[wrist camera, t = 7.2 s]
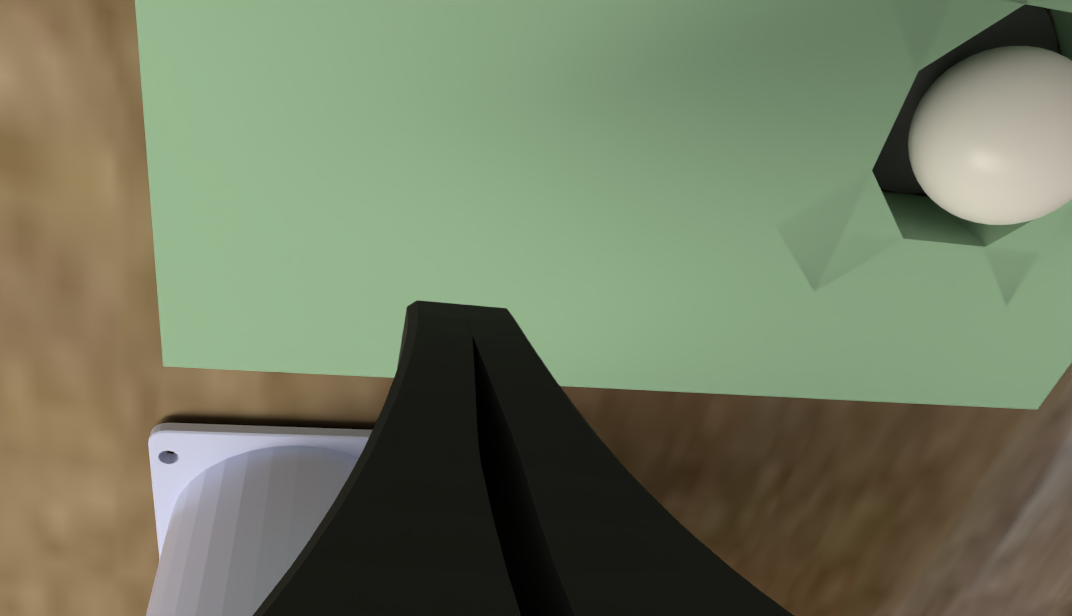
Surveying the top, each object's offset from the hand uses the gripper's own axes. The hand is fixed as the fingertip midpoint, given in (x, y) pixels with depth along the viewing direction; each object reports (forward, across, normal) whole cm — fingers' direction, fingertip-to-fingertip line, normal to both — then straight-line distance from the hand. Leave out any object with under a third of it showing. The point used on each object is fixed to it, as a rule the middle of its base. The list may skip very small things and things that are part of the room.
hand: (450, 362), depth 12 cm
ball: (+7, -13, -2) cm, 15 cm away
